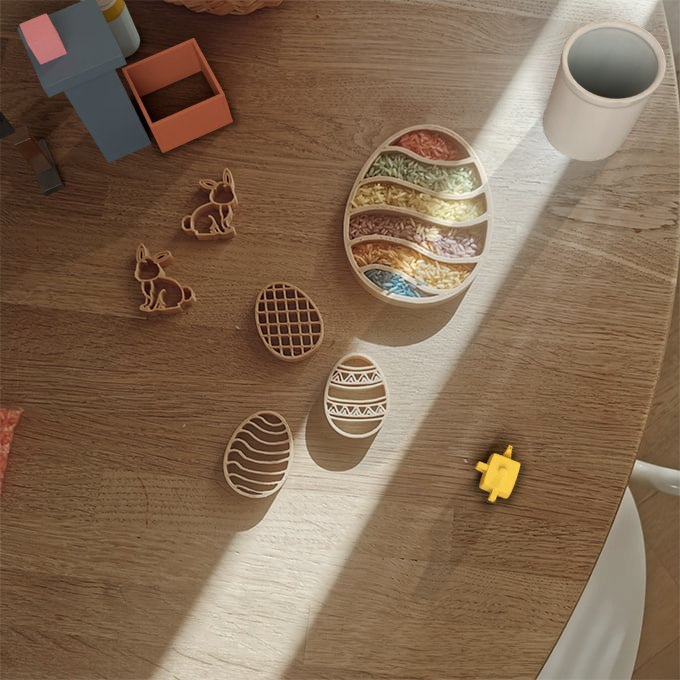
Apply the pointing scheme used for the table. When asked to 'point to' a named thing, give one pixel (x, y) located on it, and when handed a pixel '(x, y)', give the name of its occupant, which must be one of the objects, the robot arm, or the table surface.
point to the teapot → (498, 474)
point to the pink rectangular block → (43, 39)
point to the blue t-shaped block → (92, 79)
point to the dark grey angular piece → (38, 160)
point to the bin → (167, 71)
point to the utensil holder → (602, 88)
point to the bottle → (120, 25)
